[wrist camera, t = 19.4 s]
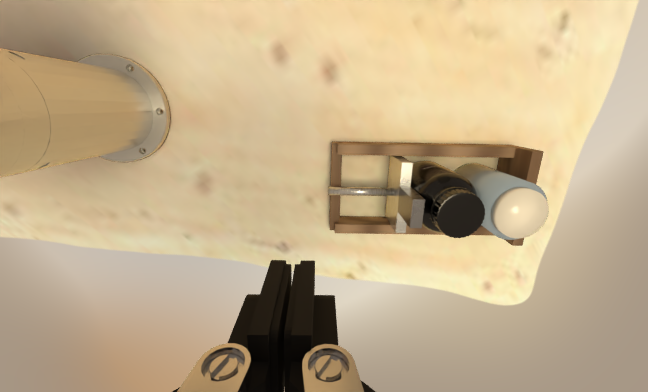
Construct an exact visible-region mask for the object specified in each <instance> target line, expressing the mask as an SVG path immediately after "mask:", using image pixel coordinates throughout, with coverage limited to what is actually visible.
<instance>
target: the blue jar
mask: <svg viewBox="0 0 648 392" xmlns="http://www.w3.org/2000/svg"><path fill="white" fill-rule="evenodd" d="M454 172H456V173H458V174H460V175H462V176H463V177H465V178H466V179H468V180H469V181H470V182H471V183H472V184H473V186H474V188H475V190H476V192H477V196H478V197H479V198H480V200H481V201H482V202H483V204H484V208H485V216H484V218H485V219H484V220H483V223H482V224H481V225H482V226H483V227H484V228H486V229H487V230H489V231H490V232H491V233H493V234H494V235H495V236H497V237H499V238H502V239H506V240H515V239H520V238H525V237H528V236H530V235H532V234H534V233H536V232H537V231H538V230H539V229H540V228H541V227H542V226H543V225H544V223H545V221H546V219H547V217H548V212H549V207H548V202H547V198H546V195H545V193H544V192H543V190H542V189H541V188H540V187H539V186H537V185H536V184H534V183H531V182H528V181H526V180H523V179H520V178H517V177H514V176H512V175H509V174H506V173H503V172H500V171H498V170H495V169H492V168H489V167H486V166H484V165H481V164H477V163H470V164H466V165H463V166H461V167H459V168H458V169H456V170H455V171H454Z"/></svg>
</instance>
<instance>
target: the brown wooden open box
mask: <svg viewBox="0 0 648 392" xmlns="http://www.w3.org/2000/svg"><path fill="white" fill-rule="evenodd" d="M342 155H395V156H449V157H499V161H498V167H497V170H498V171H500V172H503V173H506V174H509V175H512V176H514V177H517V178H520V179H523V180H526V181H528V182H531V183H534V184H536V182H537V178H538V174H539V169H540V165H541V160H542V156H543V151H539V150H534V149H529V148H524V147H519V146H514V145H489V144H436V143H384V142H332V153H331V187H341V163H342ZM330 230H335V233H370V234H439V235H445V234H444V233H437V232H433V231H431V230H428V229H427V228H425V227H424V226H423V225H422V228H409V226H408V225H406V233H395V231H394V230H393V228H392V226H391V225H390V223H389V221H388V219H387V218H386V217H350V216H340V195H330ZM470 235H494V234H493V233H491V232H490V231H489V230H487V229H486V228H484V227H483V226H482V225H481V226H480V227H479V228H478V229H477V231H475V232H474V233H473V234H470ZM504 240H506V239H504ZM523 240H524V238H520V239H515V240H506V241H507V242H508V243H510V244H511V245H516V246H522V245H523Z"/></svg>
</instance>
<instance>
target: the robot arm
mask: <svg viewBox="0 0 648 392" xmlns="http://www.w3.org/2000/svg"><path fill="white" fill-rule="evenodd" d="M133 67H134V71H133ZM161 110H163V113H162V112H161ZM169 124H170V111H169V106H168V102H167V98H166V96H165V94H164V92H163V90H162V88H161V86H160V85H159V83H158V82H157V80H156V79H155V78H154V77H153V76H152V75H151V74H150V73H149V72H148V71H147V70H146V69H145V68H143V67H142V66H141V65H139V64H137V63H136V62H134V61H132V60H130V59H127V58H124V57H121V56H117V55H112V54H95V55H89V56H87V57H85V58H82V59H80V60H79V61H77V62H73V61H67V60H62V59H56V58H51V57H45V56H40V55H34V54H29V53H24V52H18V51H13V50H7V49H2V48H0V178H1V177H5V176H10V175H15V174H20V173H24V172H29V171H33V170H38V169H43V168H47V167H52V166H56V165H61V164H65V163H70V162H74V161H79V160H83V159H88V158H92V157H97V156H99V157H101V158H103V159H106V160H110V161H114V162H133V161H137V160H141V159H143V158H146V157H148V156H150V155H151V154H153V153H154V152H156V151H157V149H158V148H159V147H160V146H161V145H162V144H163V142H164V140H165V138H166V136H167V133H168V130H169ZM145 150H146V151H145ZM314 281H315V261H301V263H300V264H295V269H294V275H293V281H292V286H291V264H286V261H284V260H271V262H270V266H269V269H268V272H267V275H266V278H265V281H264V284H263V287H262V291H261V294H260V295H247V296H246V298H245V301H244V303H243V306H242V308H241V311H240V313H239V316H238V318H237V321H236V323H235V326H234V328H233V331H232V334H231V336H230V339H229V341H228V343H227V344H222V345H218V346H216V347H214V348H211V349H210V350H209V351H207V352H206V353H204V354H203V355H202V357H201V358H200V359H199V360H198V361H197V363H196V365H195V366H194V367H193V369H192V370H191V372H190V373H189V375H188V376H187V378H186V379H185V381H184V382H183V384H182V385H181V387H179V388H178V389H176V390H174V391H173V392H284V386H285V392H375V391H374V390H372V389H371V388H370V387H369V386H368V385H366V384H365V383H364V382H362V381H361V380H360V377H359V374H358V371H357V368H356V365H355V361H354V359H353V357H352V355H351V354H350V353H349V352H348V351H347V350H345V349H344V348H342V347H340V346H338V337H337V322H336V309H335V296H333V295H314V286H315V282H314Z"/></svg>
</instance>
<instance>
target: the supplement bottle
mask: <svg viewBox="0 0 648 392" xmlns="http://www.w3.org/2000/svg"><path fill="white" fill-rule="evenodd" d="M410 187H412V188H413V189H414V190H415V191H416V192H417V193H418V194H419V195H421V196H422V197H423V198H424V199H425V205H424V213H423V222H422V225H423V226H424V227H425V228H427V229H428V230H431V231H433V232H437V233H444V234H445V235H447V236H449V237H454V238H461V237H466V236H469V235H470V234H473V233H474V232H475V231H477V229H478V228H479V227H480V226H481V224H482V223H483V220H484V219H485V218H484V216H485V208H484V204H483V202H482V201H481V200H480V198H479V197H478V196H477V192H476V190H475V188H474V186H473V184H472V183H471V182H470V181H469V180H468V179H466V178H465V177H463V176H462V175H460V174H458V173H456V172H454V171H452V170H450V169H448V168H445V167H443V166H441V165H439V164H437V163H435V162H431V161H420V162H416V163H414V164H413V167H412V177H411V186H410Z"/></svg>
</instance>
